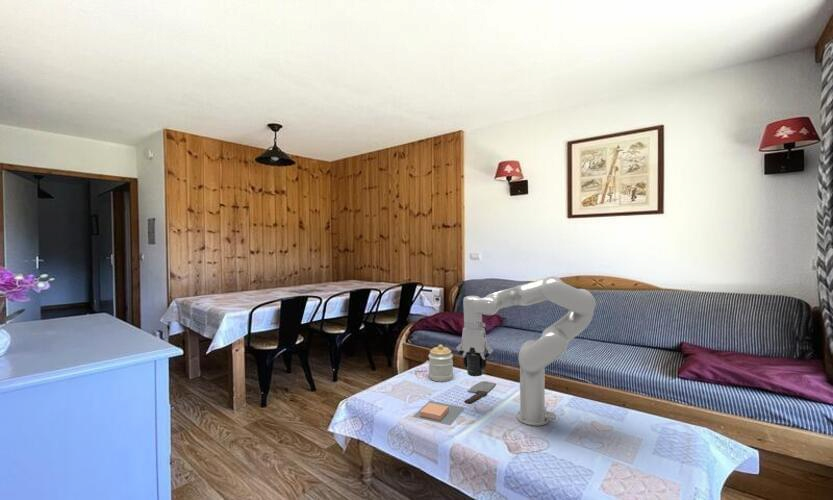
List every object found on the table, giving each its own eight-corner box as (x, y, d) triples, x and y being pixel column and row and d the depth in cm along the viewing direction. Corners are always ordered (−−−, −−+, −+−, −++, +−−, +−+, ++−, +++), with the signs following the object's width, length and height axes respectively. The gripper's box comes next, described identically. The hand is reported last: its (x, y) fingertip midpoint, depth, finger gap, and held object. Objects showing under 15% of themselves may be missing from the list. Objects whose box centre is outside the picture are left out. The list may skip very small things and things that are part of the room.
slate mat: (465, 409, 164) (465, 407, 164) (450, 426, 149) (450, 425, 149) (429, 401, 172) (429, 400, 172) (412, 418, 157) (412, 416, 157)
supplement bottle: (472, 370, 166) (471, 342, 166) (486, 373, 162) (485, 345, 162) (464, 374, 161) (462, 346, 161) (478, 378, 157) (477, 349, 156)
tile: (448, 406, 160) (440, 415, 152) (448, 411, 160) (440, 421, 152) (429, 402, 164) (420, 411, 156) (429, 407, 164) (420, 416, 156)
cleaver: (475, 407, 166) (475, 402, 166) (454, 402, 171) (454, 398, 171) (497, 385, 191) (497, 381, 191) (479, 381, 196) (479, 377, 196)
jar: (453, 373, 207) (453, 341, 206) (452, 382, 194) (452, 348, 193) (430, 372, 209) (429, 341, 208) (427, 381, 196) (427, 347, 195)
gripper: (495, 324, 160) (497, 366, 161) (457, 322, 168) (458, 362, 169) (490, 328, 154) (492, 372, 154) (450, 326, 161) (452, 367, 162)
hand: (474, 366), depth 161 cm, fingers closed on supplement bottle, 6 cm apart
